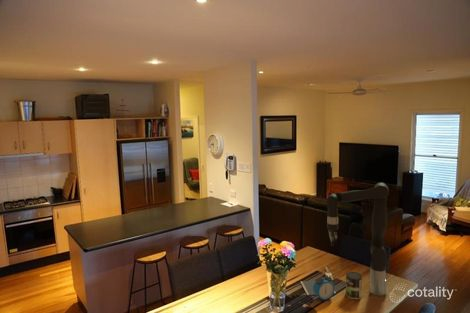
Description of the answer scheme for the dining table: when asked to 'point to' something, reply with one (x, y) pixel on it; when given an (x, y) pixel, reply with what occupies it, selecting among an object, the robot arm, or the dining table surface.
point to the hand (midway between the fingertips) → (332, 245)
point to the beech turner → (328, 273)
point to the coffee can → (354, 285)
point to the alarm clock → (324, 287)
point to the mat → (309, 287)
